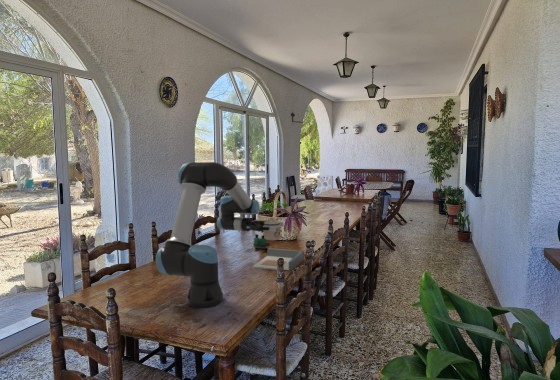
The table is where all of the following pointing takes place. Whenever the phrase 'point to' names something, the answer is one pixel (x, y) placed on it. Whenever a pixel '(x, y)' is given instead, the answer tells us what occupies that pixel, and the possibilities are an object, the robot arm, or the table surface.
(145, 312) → the table surface
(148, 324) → the table surface
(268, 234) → the teacup with lid
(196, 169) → the robot arm
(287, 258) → the tray
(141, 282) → the table surface
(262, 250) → the binoculars
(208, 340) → the table surface
